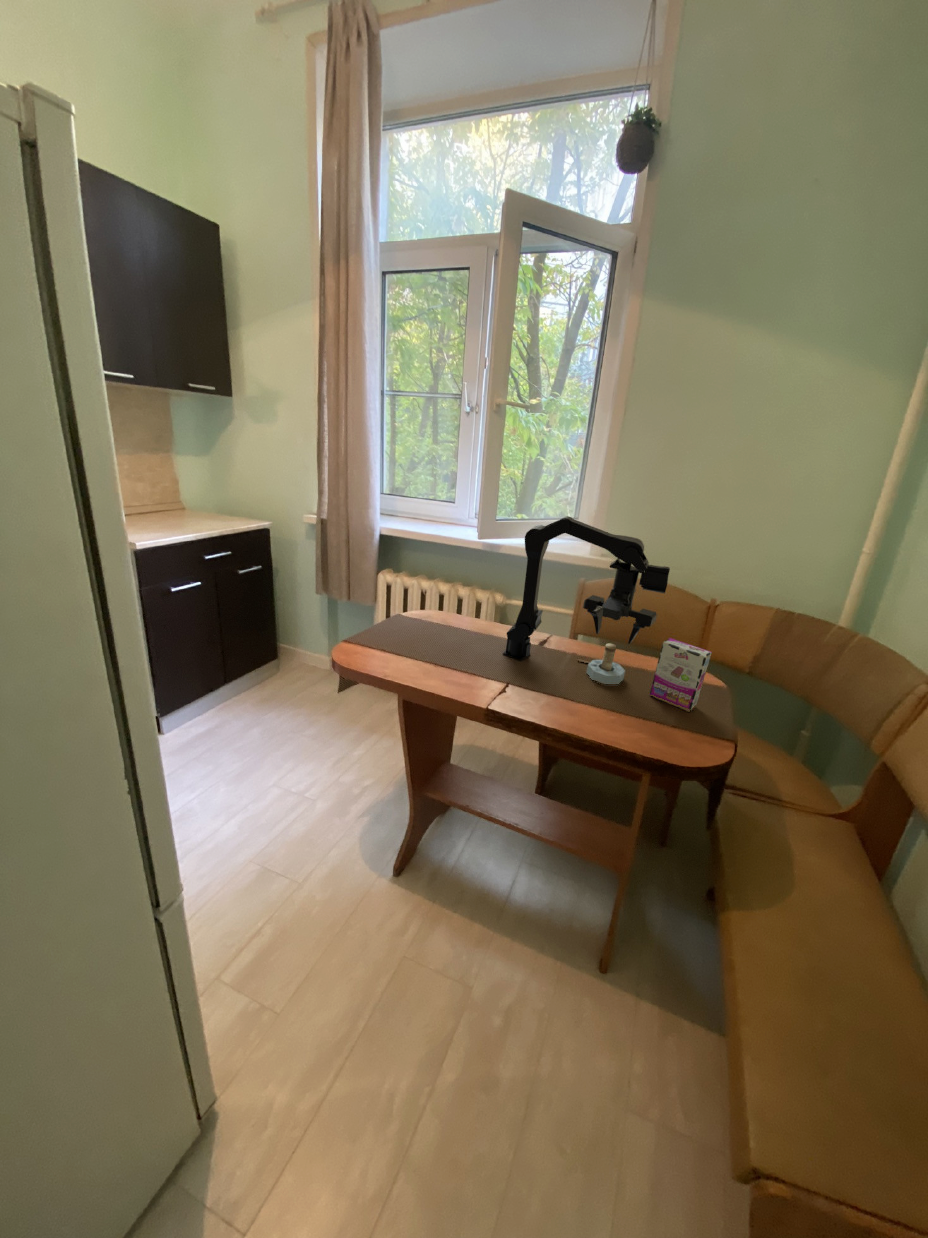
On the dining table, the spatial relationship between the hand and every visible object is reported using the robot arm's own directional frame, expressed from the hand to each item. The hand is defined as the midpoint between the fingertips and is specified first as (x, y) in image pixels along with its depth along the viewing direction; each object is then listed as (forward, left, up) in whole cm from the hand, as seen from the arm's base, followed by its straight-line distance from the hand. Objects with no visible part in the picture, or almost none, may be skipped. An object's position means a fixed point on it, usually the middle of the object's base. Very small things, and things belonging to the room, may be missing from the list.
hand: (613, 638), depth 135 cm
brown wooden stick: (-4, +5, -12) cm, 14 cm away
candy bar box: (+19, 0, -13) cm, 23 cm away
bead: (0, 0, -12) cm, 12 cm away
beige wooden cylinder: (0, 0, -12) cm, 12 cm away
